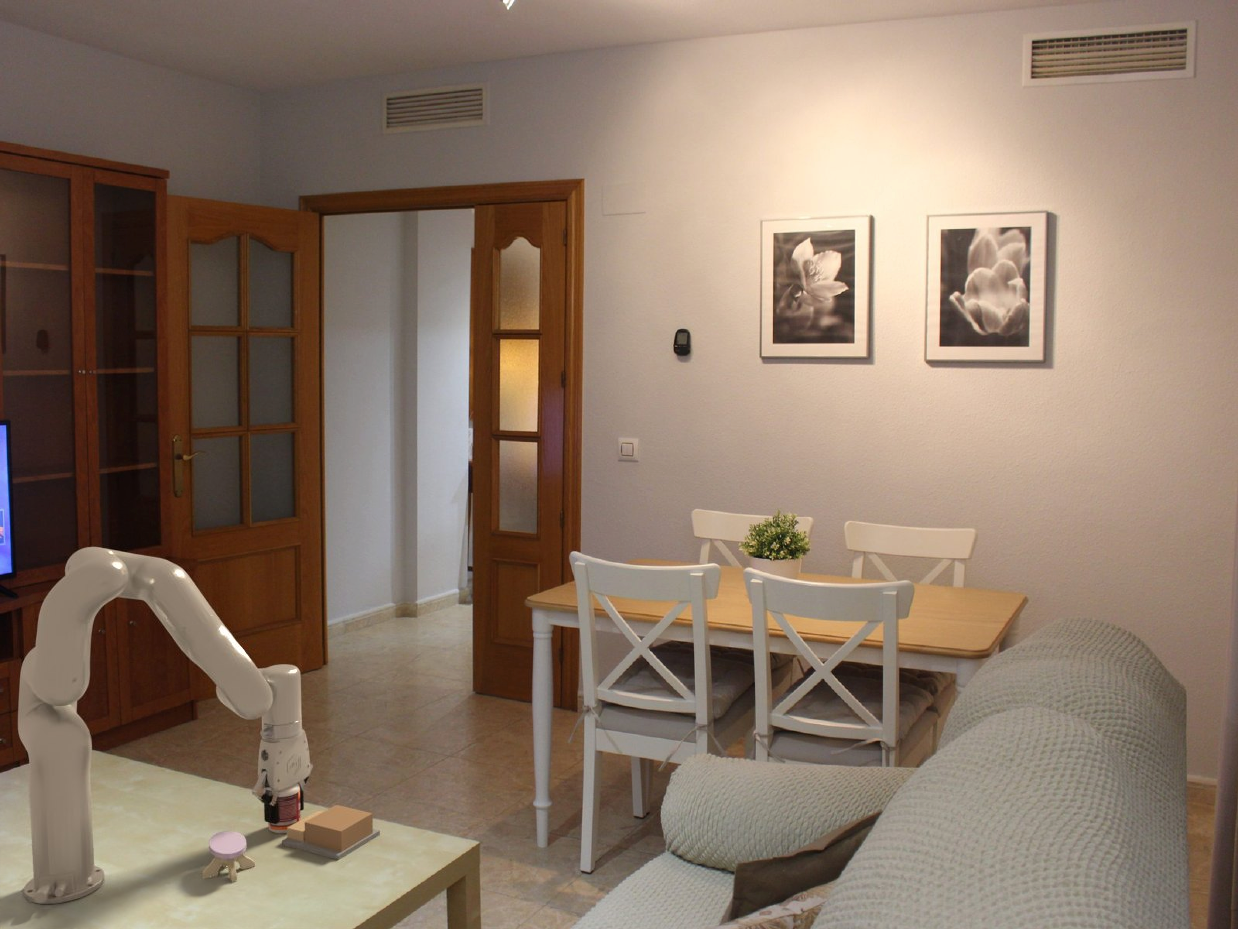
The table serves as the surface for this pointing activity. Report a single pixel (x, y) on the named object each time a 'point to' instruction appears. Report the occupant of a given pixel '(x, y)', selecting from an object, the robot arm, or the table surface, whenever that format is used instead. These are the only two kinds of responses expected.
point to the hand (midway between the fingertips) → (284, 815)
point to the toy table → (227, 854)
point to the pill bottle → (287, 808)
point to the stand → (332, 832)
